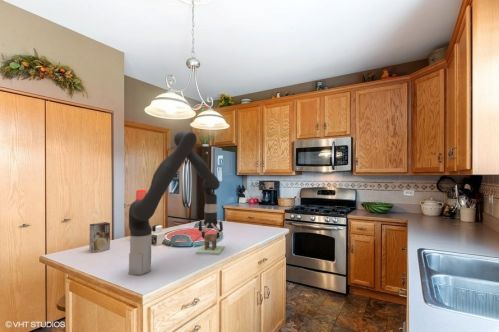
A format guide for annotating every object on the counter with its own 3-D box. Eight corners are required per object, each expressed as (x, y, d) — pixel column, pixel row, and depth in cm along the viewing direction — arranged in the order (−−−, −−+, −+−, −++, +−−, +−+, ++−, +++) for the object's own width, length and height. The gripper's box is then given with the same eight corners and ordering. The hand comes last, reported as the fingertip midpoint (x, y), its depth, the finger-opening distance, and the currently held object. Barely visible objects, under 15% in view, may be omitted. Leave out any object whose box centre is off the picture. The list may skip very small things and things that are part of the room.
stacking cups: (152, 239, 174) (153, 189, 175) (138, 243, 166) (139, 190, 167) (143, 237, 180) (144, 189, 181) (130, 240, 171) (131, 190, 172)
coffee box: (105, 247, 155) (105, 221, 156) (110, 249, 151) (110, 222, 152) (88, 251, 148) (89, 224, 148) (93, 253, 144) (94, 225, 144)
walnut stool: (216, 247, 152) (216, 234, 152) (214, 250, 146) (214, 236, 146) (207, 247, 153) (207, 233, 153) (204, 250, 147) (204, 236, 147)
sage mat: (219, 254, 142) (219, 252, 142) (195, 253, 143) (195, 251, 143) (224, 247, 155) (224, 245, 155) (202, 246, 157) (202, 245, 157)
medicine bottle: (148, 244, 162) (149, 225, 163) (157, 241, 169) (157, 224, 169) (156, 245, 159) (156, 227, 160) (165, 243, 165) (165, 225, 166)
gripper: (223, 210, 153) (223, 237, 152) (201, 210, 155) (201, 236, 154) (221, 212, 146) (220, 240, 145) (197, 211, 147) (197, 239, 147)
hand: (210, 238), depth 150 cm, fingers open, 8 cm apart
